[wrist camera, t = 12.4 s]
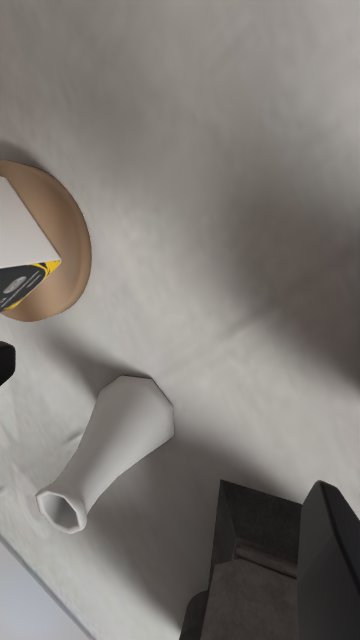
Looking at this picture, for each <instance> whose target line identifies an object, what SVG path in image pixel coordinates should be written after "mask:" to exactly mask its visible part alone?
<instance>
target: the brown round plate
mask: <svg viewBox="0 0 360 640" xmlns="http://www.w3.org/2000/svg"><path fill="white" fill-rule="evenodd" d="M0 176H1V177H4V178H6V179H7V180H8V181H9V183H10V184H11V186H12V187H13V189H14V190H15V192H16V193H17V195H18V196H19V197H20V199H21V200H22V202H23V203H24V205H25V206H26V208H27V209H28V211H29V212H30V214H31V215H32V216H33V218H34V219H35V221H36V222H37V224H38V225H39V227H40V228H41V230H42V231H43V233H44V234H45V235H46V237H47V238H48V240H49V241H50V243H51V244H52V246H53V247H54V249H55V250H56V252H57V253H58V254H59V256H60V257H61V264H60V265H59V266H58V267H57V268H55V269H54V270H53V271H52V272H51V273H50V274H49V275H48V276H47V277H46V278H45V279H44V280H43V281H42V282H41V283H40V284H39V285H38V286H36V287H35V288H34V289H33V290H32V291H31V292H30V293H29V294H28V295H27V296H26V297H25V298H24V299H23V300H22V301H21V302H20V303H19V304H18V305H16V306H15V307H14V308H12V309H9V310H6V311H2V312H0V313H1V314H3V315H5V316H7V317H9V318H12V319H15V320H19V321H24V322H33V321H39V320H42V319H45V318H48V317H50V316H53V315H55V314H58V313H61V312H63V311H65V310H67V309H69V308H70V307H71V306H72V305H74V304H75V303H76V301H77V300H78V299H79V298H80V296H81V295H82V293H83V292H84V290H85V287H86V285H87V283H88V279H89V276H90V270H91V260H92V253H91V242H90V236H89V232H88V229H87V225H86V222H85V220H84V217H83V215H82V212H81V211H80V209H79V207H78V205H77V203H76V202H75V200H74V198H73V197H72V195H71V194H70V193H69V192H68V191H67V189H66V188H65V187H64V186H63V185H62V184H61V183H60V182H59V181H58V180H57V179H55V178H54V177H53V176H51V175H50V174H48V173H46V172H45V171H43V170H41V169H38V168H35V167H32V166H28V165H24V164H20V163H16V162H12V161H7V160H1V159H0Z"/></svg>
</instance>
